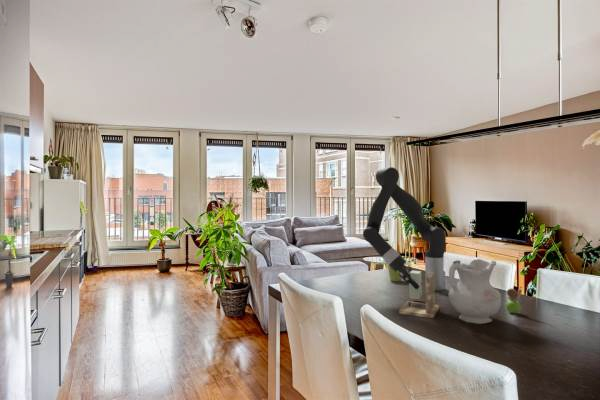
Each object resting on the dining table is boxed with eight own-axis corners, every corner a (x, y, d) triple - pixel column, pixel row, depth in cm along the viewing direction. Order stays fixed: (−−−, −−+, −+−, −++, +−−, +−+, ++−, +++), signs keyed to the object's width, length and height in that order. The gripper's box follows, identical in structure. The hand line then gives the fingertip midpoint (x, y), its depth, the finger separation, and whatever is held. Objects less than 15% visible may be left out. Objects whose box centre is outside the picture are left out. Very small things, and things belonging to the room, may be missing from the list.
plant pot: (403, 282, 212) (403, 267, 212) (387, 281, 215) (386, 267, 215) (403, 279, 221) (403, 264, 221) (387, 278, 224) (387, 264, 224)
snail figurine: (517, 316, 152) (517, 287, 152) (502, 312, 158) (502, 284, 158) (525, 314, 155) (525, 286, 154) (510, 310, 160) (510, 282, 160)
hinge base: (398, 313, 157) (398, 275, 157) (407, 303, 171) (407, 269, 171) (433, 318, 151) (433, 279, 150) (439, 307, 165) (439, 272, 164)
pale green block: (409, 298, 173) (409, 272, 173) (412, 295, 178) (411, 270, 178) (419, 299, 171) (418, 273, 171) (421, 296, 176) (421, 271, 176)
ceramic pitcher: (477, 334, 136) (482, 268, 134) (433, 316, 152) (437, 257, 150) (509, 323, 147) (514, 262, 145) (465, 307, 164) (469, 252, 162)
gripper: (395, 256, 172) (422, 285, 166) (402, 252, 184) (428, 278, 179) (384, 267, 175) (410, 295, 169) (392, 262, 187) (416, 288, 181)
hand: (419, 286), depth 174 cm, fingers closed on pale green block, 5 cm apart
